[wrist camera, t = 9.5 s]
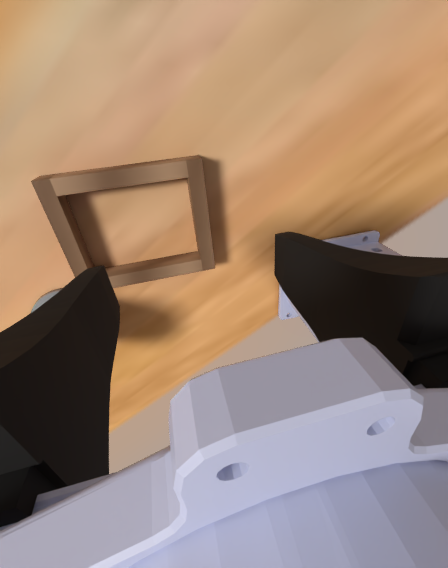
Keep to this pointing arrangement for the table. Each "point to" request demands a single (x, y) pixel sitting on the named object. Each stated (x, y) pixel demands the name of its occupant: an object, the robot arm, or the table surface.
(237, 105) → the table surface
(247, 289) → the table surface
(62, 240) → the frame
